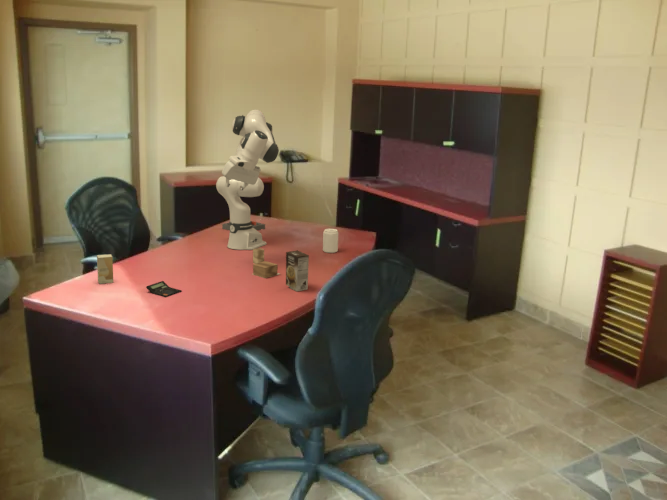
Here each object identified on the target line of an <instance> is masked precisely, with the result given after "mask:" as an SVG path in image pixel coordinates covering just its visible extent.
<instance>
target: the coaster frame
mask: <svg viewBox="0 0 667 500" xmlns="http://www.w3.org/2000/svg"><path fill="white" fill-rule="evenodd" d="M250 221H251V222H252V221H253V220H250ZM255 222H256V225H253V228H254V229H256V230H258V231H262V230H261V229H263V230H265V229H266V223H262V222H257V221H255ZM221 225H222V227H221V228H222V230H226V231H230V228H229V222H225V223H222V224H221Z"/></svg>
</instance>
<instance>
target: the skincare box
mask: <svg viewBox="0 0 667 500" xmlns="http://www.w3.org/2000/svg"><path fill="white" fill-rule="evenodd" d="M113 261H114V260H113V255H112V254H98V255H96V264H97V265H96V267H97V268H96V269H97V282H98V284H100V285H102V284H112V283H114V266H113V265H114V264H113V263H114V262H113Z"/></svg>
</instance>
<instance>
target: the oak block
mask: <svg viewBox="0 0 667 500" xmlns="http://www.w3.org/2000/svg"><path fill="white" fill-rule="evenodd" d="M264 261H265V249H264V248H262V247H258V248H255V249H253V250H252V264H257V263H260V262H264Z"/></svg>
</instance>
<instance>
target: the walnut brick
mask: <svg viewBox="0 0 667 500" xmlns="http://www.w3.org/2000/svg"><path fill="white" fill-rule="evenodd" d="M252 266H253V267H252V269H253V270H252V274H253V276H255V277H256V276H257V277H259V278H263V279H268V278H271V276H272V277H275V276H278V275H277V273H278V264H277V263H273V262H270V261H266V260H264V262H260V263H257V264H254V263H252Z"/></svg>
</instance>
